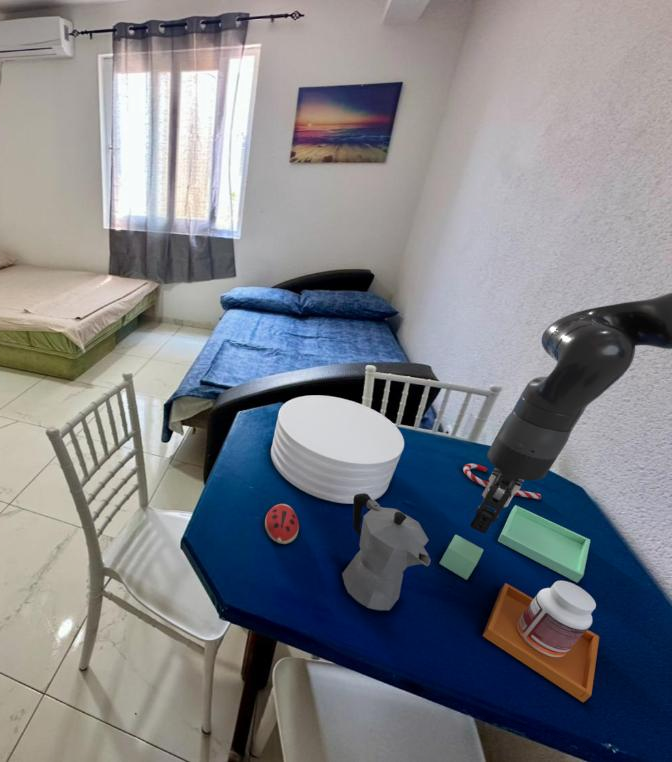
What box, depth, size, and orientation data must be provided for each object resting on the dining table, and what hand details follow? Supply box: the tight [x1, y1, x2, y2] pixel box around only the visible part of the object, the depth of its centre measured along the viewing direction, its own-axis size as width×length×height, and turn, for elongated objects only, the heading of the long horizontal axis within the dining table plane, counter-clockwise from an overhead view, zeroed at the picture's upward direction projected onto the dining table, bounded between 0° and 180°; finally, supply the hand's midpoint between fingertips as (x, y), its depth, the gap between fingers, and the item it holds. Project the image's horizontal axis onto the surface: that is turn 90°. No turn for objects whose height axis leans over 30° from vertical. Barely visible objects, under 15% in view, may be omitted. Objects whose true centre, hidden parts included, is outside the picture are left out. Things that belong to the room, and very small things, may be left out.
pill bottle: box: [517, 580, 597, 657], centre depth 62 cm, size 6×6×11 cm
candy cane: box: [462, 463, 542, 500], centre depth 97 cm, size 8×1×15 cm
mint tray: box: [497, 504, 591, 584], centre depth 82 cm, size 12×12×2 cm
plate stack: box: [270, 394, 405, 505], centre depth 100 cm, size 28×28×12 cm
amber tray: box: [482, 582, 600, 704], centre depth 65 cm, size 12×12×2 cm
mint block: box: [438, 533, 484, 581], centre depth 76 cm, size 5×5×5 cm
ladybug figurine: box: [264, 503, 300, 545], centre depth 83 cm, size 7×10×4 cm
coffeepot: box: [341, 493, 431, 611], centre depth 69 cm, size 15×9×18 cm, turn 16°
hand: (484, 516), depth 71 cm, fingers open, 8 cm apart
